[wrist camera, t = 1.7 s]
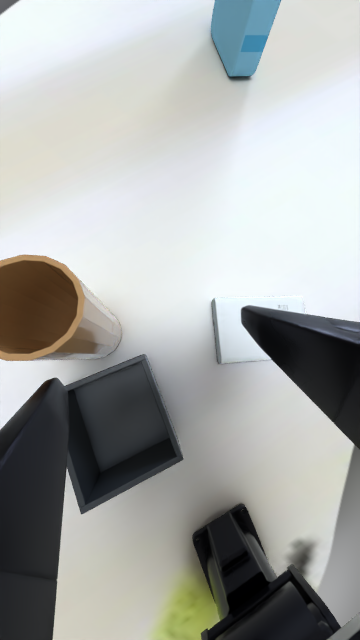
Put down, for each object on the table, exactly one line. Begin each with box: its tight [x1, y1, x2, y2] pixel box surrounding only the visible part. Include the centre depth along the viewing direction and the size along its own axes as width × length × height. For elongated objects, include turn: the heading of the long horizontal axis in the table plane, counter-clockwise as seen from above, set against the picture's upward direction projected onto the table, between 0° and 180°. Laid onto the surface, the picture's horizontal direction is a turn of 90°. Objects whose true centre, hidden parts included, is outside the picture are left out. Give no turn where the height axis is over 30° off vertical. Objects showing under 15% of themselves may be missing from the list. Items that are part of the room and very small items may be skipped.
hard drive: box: [212, 296, 306, 364], centre depth 25 cm, size 2×8×12 cm
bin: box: [64, 354, 184, 514], centre depth 19 cm, size 10×9×5 cm
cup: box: [0, 255, 122, 361], centre depth 17 cm, size 6×6×13 cm
